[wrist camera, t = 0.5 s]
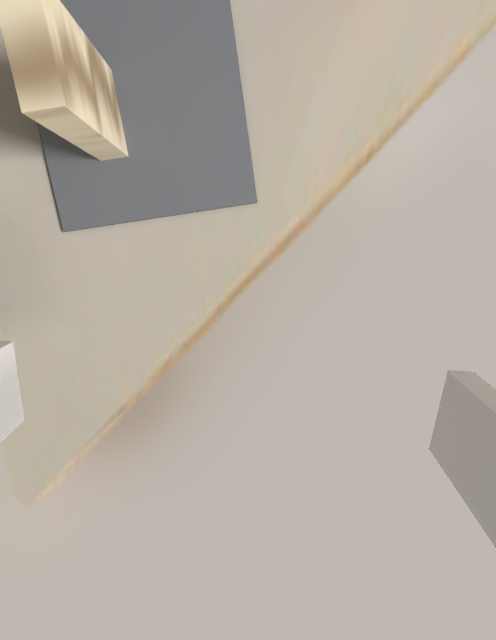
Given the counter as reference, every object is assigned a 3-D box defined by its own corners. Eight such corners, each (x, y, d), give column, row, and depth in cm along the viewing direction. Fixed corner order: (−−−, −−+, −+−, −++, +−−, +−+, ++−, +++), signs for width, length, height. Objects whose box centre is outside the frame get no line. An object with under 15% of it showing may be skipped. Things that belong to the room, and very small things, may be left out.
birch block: (82, 74, 32) (-13, -29, 20) (111, 69, 32) (33, -36, 20) (100, 160, 33) (21, 112, 21) (128, 156, 33) (64, 105, 21)
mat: (9, -2, 31) (7, -4, 30) (224, -37, 30) (224, -39, 30) (64, 231, 34) (63, 231, 34) (257, 202, 34) (257, 202, 34)
